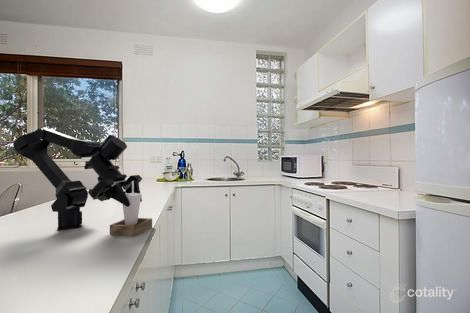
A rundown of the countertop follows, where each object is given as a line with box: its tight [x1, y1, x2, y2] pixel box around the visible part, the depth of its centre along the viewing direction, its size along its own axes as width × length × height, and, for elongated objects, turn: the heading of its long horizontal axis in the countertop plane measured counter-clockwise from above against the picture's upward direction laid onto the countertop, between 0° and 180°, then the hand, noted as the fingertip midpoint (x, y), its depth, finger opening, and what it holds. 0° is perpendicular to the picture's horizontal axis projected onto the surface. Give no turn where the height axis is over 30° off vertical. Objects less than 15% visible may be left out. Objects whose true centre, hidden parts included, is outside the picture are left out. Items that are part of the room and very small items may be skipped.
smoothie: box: [122, 181, 143, 225], centre depth 77 cm, size 6×6×14 cm
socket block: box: [109, 217, 153, 237], centre depth 77 cm, size 9×9×3 cm
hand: (135, 203), depth 77 cm, fingers closed on smoothie, 6 cm apart
